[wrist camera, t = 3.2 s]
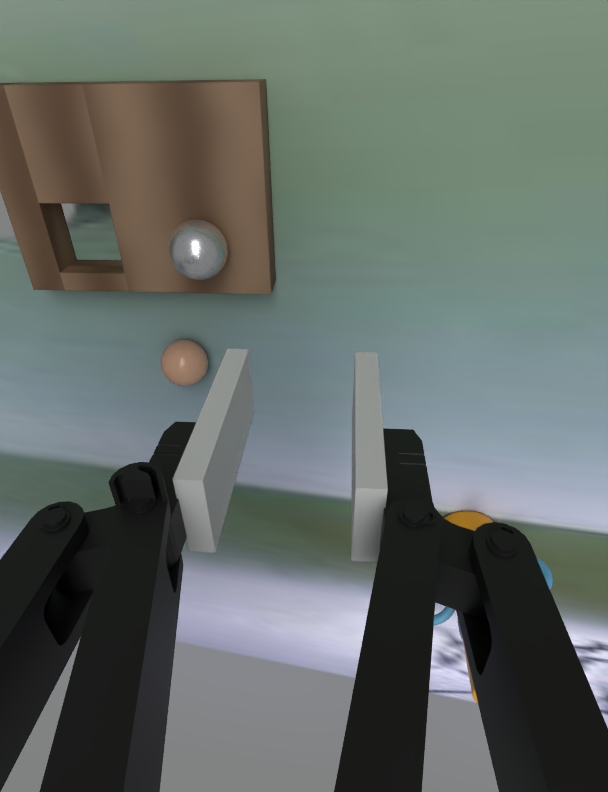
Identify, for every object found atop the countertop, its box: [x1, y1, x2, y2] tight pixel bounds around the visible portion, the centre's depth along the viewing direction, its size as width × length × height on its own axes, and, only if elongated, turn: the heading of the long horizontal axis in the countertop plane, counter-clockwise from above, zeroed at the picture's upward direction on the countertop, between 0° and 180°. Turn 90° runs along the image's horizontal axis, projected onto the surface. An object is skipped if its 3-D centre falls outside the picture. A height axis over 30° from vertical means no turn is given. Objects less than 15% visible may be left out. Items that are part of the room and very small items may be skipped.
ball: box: [161, 340, 208, 386], centre depth 38 cm, size 4×4×4 cm
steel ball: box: [168, 219, 228, 280], centre depth 31 cm, size 4×4×4 cm
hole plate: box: [0, 79, 276, 294], centre depth 32 cm, size 16×12×2 cm
